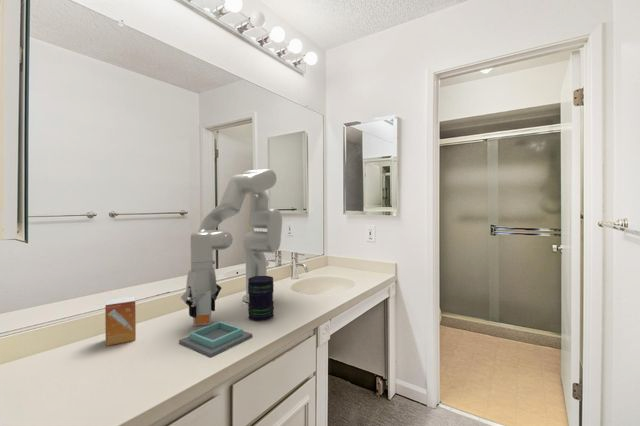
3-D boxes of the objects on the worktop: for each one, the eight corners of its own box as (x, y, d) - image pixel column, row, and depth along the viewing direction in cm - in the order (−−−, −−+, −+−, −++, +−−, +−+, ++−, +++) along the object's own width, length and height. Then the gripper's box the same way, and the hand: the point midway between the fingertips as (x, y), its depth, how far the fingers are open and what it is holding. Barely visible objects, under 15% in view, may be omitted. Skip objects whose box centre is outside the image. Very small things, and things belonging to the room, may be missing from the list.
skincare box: (193, 326, 108) (192, 293, 107) (194, 322, 112) (194, 290, 112) (211, 324, 109) (210, 292, 109) (211, 320, 114) (211, 289, 113)
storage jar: (253, 323, 111) (253, 283, 110) (244, 315, 119) (244, 277, 119) (278, 317, 116) (277, 279, 116) (267, 310, 124) (267, 274, 124)
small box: (105, 347, 92) (104, 304, 92) (106, 339, 98) (105, 299, 97) (136, 340, 97) (135, 300, 96) (135, 333, 102) (134, 295, 102)
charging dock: (221, 326, 108) (221, 318, 108) (252, 336, 99) (252, 327, 99) (179, 343, 95) (178, 333, 94) (210, 357, 86) (210, 346, 86)
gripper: (215, 261, 120) (215, 305, 120) (173, 268, 105) (174, 318, 105) (227, 262, 115) (228, 308, 116) (185, 271, 101) (186, 323, 101)
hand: (202, 313), depth 111 cm, fingers closed on skincare box, 7 cm apart
